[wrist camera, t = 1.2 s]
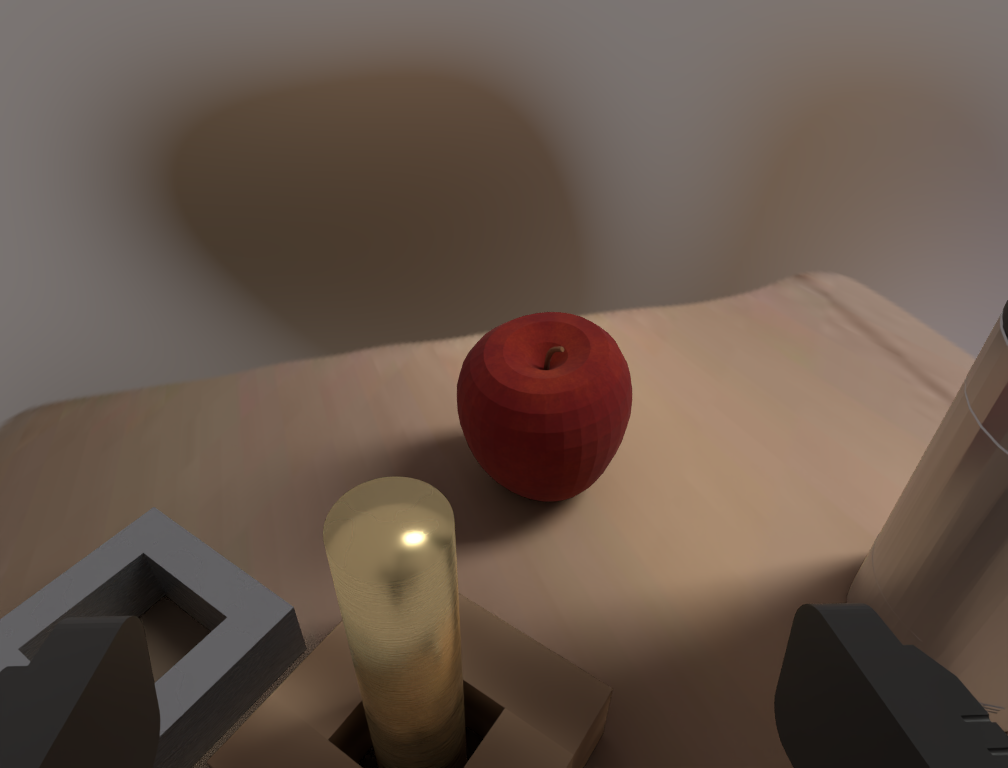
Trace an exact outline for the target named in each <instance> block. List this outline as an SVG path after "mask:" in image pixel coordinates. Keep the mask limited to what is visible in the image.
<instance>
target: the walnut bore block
mask: <svg viewBox="0 0 1008 768" xmlns="http://www.w3.org/2000/svg"><path fill="white" fill-rule="evenodd" d="M458 597H459V616H460V635H461V654H462V673H463V692H464V711H465V725H466V726H468V727H469V728H470V729H472V730H473V731H475V732H476V733H477V734H479V735H480V736H482V737H483V738H484V739H483V741H482V742H481V743H480V745H479V746H478V748H477V749H476V751H475V752H474V754H473V755H472V756H471V758H470V759H469V761H468V762H467V764H466V765H465V766H464V768H584V766H585V764H586V762H587V761H588V759H589V757H590V755H591V754H592V752H593V750H594V748H595V747H596V745H597V743H598V741H599V740H600V738H601V736H602V734H603V731H604V727H605V722H606V718H607V713H608V708H609V704H610V699H611V695H612V690H613V688H611V687H609V686H608V685H606V684H605V683H603V682H601V681H600V680H598V679H597V678H595V677H593V676H592V675H590V674H588V673H587V672H585V671H584V670H582V669H580V668H579V667H577V666H576V665H574V664H572V663H571V662H569V661H568V660H566V659H564V658H563V657H561V656H559V655H558V654H556V653H555V652H553V651H551V650H550V649H548V648H547V647H545V646H543V645H542V644H540V643H538V642H537V641H535V640H534V639H532V638H530V637H529V636H527V635H526V634H524V633H522V632H521V631H519V630H518V629H516V628H514V627H513V626H511V625H509V624H508V623H506V622H505V621H503V620H501V619H500V618H498V617H497V616H495V615H493V614H492V613H490V612H488V611H487V610H485V609H484V608H482V607H480V606H479V605H477V604H476V603H474V602H472V601H471V600H469V599H468V598H466V597H464V596H463V595H461V594H459V593H458ZM372 745H373V743H372V739H371V735H370V731H369V727H368V723H367V718H366V714H365V710H364V706H363V702H362V698H361V694H360V690H359V685H358V681H357V677H356V673H355V669H354V665H353V661H352V657H351V652H350V648H349V644H348V640H347V636H346V632H345V628H344V624H343V620H342V621H341V622H340V623H339V624H338V625H337V626H336V627H335V628H334V629H333V631H332V632H331V633H330V634H329V635H328V636H327V637H326V638H325V639H324V640H323V641H322V642H321V643H320V644H319V645H318V646H317V647H316V648H315V649H314V650H313V651H312V652H311V653H310V654H309V656H308V657H307V658H306V659H305V660H304V661H303V662H302V663H301V664H300V665H299V666H298V667H297V668H296V669H295V670H294V671H293V672H292V673H291V674H290V675H289V676H288V677H287V678H286V679H285V681H284V682H283V683H282V684H281V685H280V686H279V687H278V688H277V689H276V690H275V691H274V692H273V693H272V694H271V695H270V696H269V697H268V698H267V699H266V700H265V701H264V702H263V703H262V704H261V706H260V707H259V708H258V709H257V710H256V711H255V712H254V713H253V714H252V715H251V716H250V717H249V718H248V719H247V720H246V721H245V722H244V723H243V724H242V725H241V726H240V727H239V728H238V729H237V731H236V732H235V733H234V734H233V735H232V736H231V737H230V738H229V739H228V740H227V741H226V742H225V743H224V744H223V745H222V746H221V747H220V748H219V749H218V750H217V751H216V752H215V753H214V754H213V756H212V757H211V758H210V759H209V760H208V761H207V763H208V765H209V767H210V768H362V767H361V766H360V765H358V763H359V761H360V760H361V759H362V758H363V756H364V755H365V754H366V753H367V751H368V750H369V749H370V748H371V747H372Z"/></svg>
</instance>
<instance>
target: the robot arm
mask: <svg viewBox="0 0 1008 768" xmlns="http://www.w3.org/2000/svg"><path fill="white" fill-rule="evenodd" d="M774 709H775V719H776V725H777V730H778V733H779V737H780V740H781V743H782V745H783V747H784V750H785V752H786V754H787V756H788V758H789V760H790V761H791V763H792V765H793V767H794V768H1008V736H1007V734H1006V733H1005V732H1006V731H1008V300H1007V302H1006V304H1005V306H1004V309H1003V311H1002V313H1001V315H1000V316H999V318H998V320H997V322H996V324H995V326H994V327H993V329H992V331H991V333H990V335H989V336H988V338H987V340H986V342H985V344H984V346H983V347H982V349H981V351H980V353H979V355H978V356H977V358H976V360H975V362H974V364H973V365H972V367H971V369H970V371H969V373H968V374H967V377H966V379H965V381H964V383H963V384H962V386H961V388H960V390H959V392H958V393H957V395H956V397H955V399H954V401H953V402H952V404H951V406H950V408H949V410H948V411H947V413H946V415H945V417H944V419H943V420H942V422H941V424H940V426H939V428H938V429H937V431H936V433H935V435H934V437H933V438H932V440H931V442H930V444H929V446H928V447H927V449H926V451H925V453H924V455H923V456H922V458H921V460H920V462H919V463H918V465H917V467H916V469H915V471H914V472H913V474H912V476H911V478H910V480H909V481H908V483H907V485H906V487H905V489H904V490H903V492H902V494H901V496H900V498H899V499H898V501H897V503H896V505H895V507H894V508H893V510H892V512H891V514H890V516H889V517H888V519H887V521H886V523H885V525H884V526H883V528H882V530H881V532H880V533H879V535H878V536H877V538H876V540H875V542H874V544H873V546H872V547H871V549H870V551H869V553H868V555H867V556H866V558H865V560H864V562H863V564H862V565H861V567H860V569H859V571H858V573H857V575H856V576H855V578H854V580H853V582H852V584H851V587H850V589H849V592H848V594H847V603H832V604H804V605H802V606H801V607H800V608H799V609H798V610H797V612H796V614H795V617H794V621H793V625H792V629H791V633H790V637H789V641H788V645H787V649H786V653H785V657H784V661H783V665H782V669H781V673H780V677H779V681H778V685H777V689H776V693H775V702H774ZM159 737H160V710H159V704H158V699H157V694H156V689H155V683H154V678H153V673H152V668H151V662H150V657H149V652H148V647H147V641H146V636H145V631H144V627H143V624H142V622H141V620H140V619H139V618H138V617H137V616H98V617H68V618H65V619H63V620H61V621H60V622H59V623H58V624H57V625H56V626H55V628H54V629H53V630H52V632H51V633H50V635H49V636H48V637H47V639H46V640H45V642H44V643H43V645H42V646H41V647H40V649H39V650H38V652H37V653H36V655H35V656H34V657H33V659H32V660H31V662H30V663H29V665H28V666H7V667H5V668H4V669H3V670H2V671H0V768H153V765H154V761H155V758H156V754H157V749H158V744H159Z"/></svg>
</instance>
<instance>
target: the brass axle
mask: <svg viewBox="0 0 1008 768" xmlns="http://www.w3.org/2000/svg"><path fill="white" fill-rule="evenodd" d="M323 541H324V545H325V549H326V554H327V558H328V562H329V566H330V570H331V574H332V578H333V582H334V587H335V591H336V595H337V599H338V603H339V607H340V611H341V615H342V619H343V624H344V628H345V632H346V636H347V640H348V644H349V648H350V652H351V657H352V661H353V665H354V669H355V673H356V677H357V681H358V685H359V690H360V694H361V698H362V702H363V706H364V710H365V714H366V718H367V723H368V727H369V731H370V735H371V739H372V743H373V747H374V751H375V755H376V760H377V764H378V768H464V766H465V765H466V764H467V749H466V730H465V711H464V692H463V673H462V654H461V635H460V616H459V597H458V578H457V559H456V540H455V522H454V514H453V510H452V508H451V505H450V503H449V502H448V500H447V499H446V497H445V496H444V495H443V494H442V493H441V492H440V491H439V490H437V489H436V488H435V487H433V486H432V485H430V484H428V483H426V482H423V481H420V480H418V479H413V478H409V477H383V478H378V479H374V480H370V481H368V482H365V483H362V484H360V485H358V486H356V487H354V488H353V489H351V490H350V491H348V492H347V493H345V494H344V495H343V496H342V497H341V498H340V499H339V500H338V501H337V502H336V503H335V504H334V505H333V507H332V508H331V510H330V511H329V513H328V515H327V518H326V520H325V523H324V527H323Z"/></svg>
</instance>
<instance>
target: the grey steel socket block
mask: <svg viewBox="0 0 1008 768" xmlns="http://www.w3.org/2000/svg"><path fill="white" fill-rule="evenodd" d="M164 595H165V596H167V597H168V598H169V599H171V600H172V601H173V602H174V603H176V604H177V605H178V606H179V607H181V608H182V609H183V610H184V611H186V612H187V613H188V614H189V615H191V616H192V617H193V618H194V619H196V620H197V621H198V622H200V623H201V624H202V625H203V626H205V627H206V628H207V629H208V630H210V631H211V633H209V634H208V635H207V636H206V637H205V638H204V639H203V640H202V641H201V642H200V643H198V644H197V645H196V646H195V647H194V648H193V649H192V650H191V651H190V652H189V653H187V654H186V655H185V656H184V657H183V658H182V659H181V660H180V661H179V662H178V663H176V664H175V665H174V666H173V667H172V668H171V669H170V670H169V671H168V672H167V673H165V674H164V675H163V676H162V677H161V678H160V679H159V680H158V681H157V682H156V683H155V689H156V694H157V699H158V704H159V710H160V737H159V744H158V749H157V754H156V758H155V761H154V765H153V768H191V767H192V766H193V765H194V764H195V763H196V762H197V761H198V760H199V759H200V758H201V757H202V756H203V755H204V754H205V753H206V752H207V751H208V750H209V749H210V748H211V747H212V746H213V745H214V744H215V743H216V742H217V741H218V740H219V739H220V737H221V736H222V735H223V734H224V733H225V732H226V731H227V730H228V729H229V728H230V727H231V726H232V725H233V724H234V723H235V722H236V721H237V720H238V719H239V718H240V717H241V716H242V715H243V714H244V713H245V712H246V711H247V710H248V709H249V708H250V707H251V706H252V704H253V703H254V702H255V701H256V700H257V699H258V698H259V697H260V696H261V695H262V694H263V693H264V692H265V691H266V690H267V689H268V688H269V687H270V686H271V685H272V684H273V683H274V682H275V681H276V680H277V679H278V678H279V677H280V676H281V675H282V674H283V673H284V671H285V670H286V669H287V668H288V667H289V666H290V665H291V664H292V663H293V662H294V661H295V660H296V659H297V658H298V657H299V656H300V655H301V654H302V653H303V652H304V651H305V650H306V649H307V648H306V645H305V642H304V639H303V635H302V632H301V629H300V626H299V623H298V620H297V616H296V613H295V610H294V607H293V606H291V605H290V604H289V603H287V602H286V601H284V600H283V599H282V598H280V597H279V596H277V595H276V594H275V593H273V592H272V591H270V590H269V589H268V588H266V587H265V586H263V585H262V584H261V583H259V582H258V581H256V580H255V579H254V578H252V577H251V576H249V575H248V574H247V573H245V572H244V571H243V570H241V569H240V568H238V567H237V566H236V565H234V564H233V563H231V562H230V561H229V560H227V559H226V558H224V557H223V556H222V555H220V554H219V553H217V552H216V551H215V550H213V549H212V548H210V547H209V546H208V545H206V544H205V543H204V542H202V541H201V540H199V539H198V538H197V537H195V536H194V535H192V534H191V533H190V532H188V531H187V530H185V529H184V528H183V527H181V526H180V525H178V524H177V523H176V522H174V521H173V520H171V519H170V518H169V517H167V516H166V515H164V514H163V513H162V512H160V511H159V510H158V509H156V508H155V507H153V508H152V509H151V510H149V511H148V512H146V513H145V514H144V515H142V516H141V517H140V518H138V519H137V520H135V521H134V522H133V523H131V524H130V525H129V526H127V527H126V528H125V529H123V530H122V531H120V532H119V533H118V534H116V535H115V536H114V537H112V538H111V539H109V540H108V541H107V542H105V543H104V544H103V545H101V546H100V547H99V548H97V549H96V550H94V551H93V552H92V553H90V554H89V555H88V556H86V557H85V558H83V559H82V560H81V561H79V562H78V563H77V564H75V565H74V566H73V567H71V568H70V569H68V570H67V571H66V572H64V573H63V574H62V575H60V576H59V577H57V578H56V579H55V580H53V581H52V582H51V583H49V584H48V585H47V586H45V587H44V588H42V589H41V590H40V591H38V592H37V593H36V594H34V595H33V596H32V597H30V598H29V599H27V600H26V601H25V602H23V603H22V604H21V605H19V606H18V607H16V608H15V609H14V610H12V611H11V612H10V613H8V614H7V615H6V616H4V617H3V618H1V619H0V671H2V670H3V669H4V668H5V667H7V666H28V665H29V663H30V662H31V660H32V659H33V657H34V656H35V655H36V653H37V652H38V650H39V649H40V647H41V646H42V645H43V643H44V642H45V640H46V639H47V637H48V636H49V635H50V633H51V632H52V630H53V629H54V628H55V626H56V625H57V624H58V623H59V622H60V621H61V620H63V619H65V618H68V617H98V616H137V617H139V616H140V615H142V614H143V613H144V612H145V611H146V610H148V609H149V608H150V607H151V606H152V605H154V604H155V603H156V602H157V601H158V600H160V599H161V598H162V597H163V596H164Z"/></svg>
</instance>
